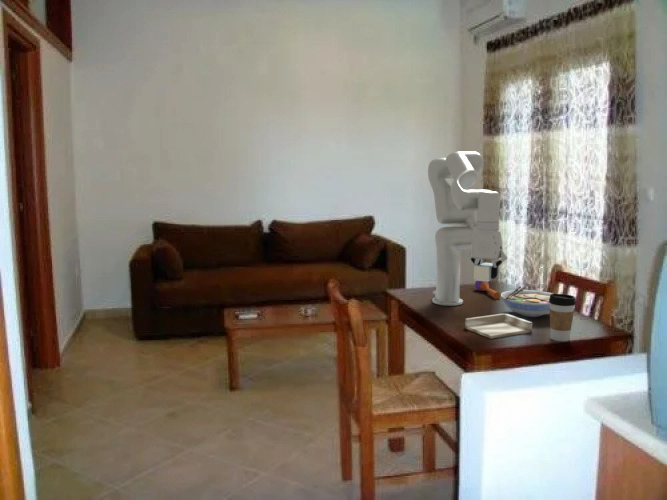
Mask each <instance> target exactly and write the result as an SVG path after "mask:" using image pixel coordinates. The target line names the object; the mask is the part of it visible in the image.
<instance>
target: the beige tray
mask: <svg viewBox="0 0 667 500" xmlns="http://www.w3.org/2000/svg"><path fill="white" fill-rule="evenodd" d="M464 329H466V330H468V331H470V332H473V333H475V334H478V335H480V336H483V337H486V338H488V339H492V340H493V339H498V338H503V337H511V336H517V335H523V334H528V333H532V332H533V322H532V321H530V320H527V319H524V318H520V317H518V316H515V315H513V314H509V313H505V312H504V313H497V314H490V315H489V314H488V315H483V316H474V317H467V318H465V319H464Z"/></svg>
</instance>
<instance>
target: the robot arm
mask: <svg viewBox="0 0 667 500" xmlns="http://www.w3.org/2000/svg"><path fill="white" fill-rule="evenodd" d="M483 169H484V158H483V156H482V155H481V154H480V153H479V152H477V151H453V152H451V153H449V154H448V155H447V156H446V157H438V158H434V159H432V160H430V162H429V164H428V167H427V177H428V180H429V183H430V186H431V188H432V192H433V195H434V196H433V199H434V205H435V206H434V207H435V214H436V220H437V222H438V223H439V224H441V225H461V226H443V227H440V228H438V229H437V231H436V232H435V237H434V238H435V240H434V241H435V247H436V285H435V286H436V287H435V288H436V289H435V290H433V291H432V294H433V295H435V296H434V297H433V298H432V300H431V302H432V304H436V305H438V306H445V307H446V306H448V307H451V306H452V307H454V306H460V305H463V303H464V300H463V299H462V298H460V290H461V289H460V288H461V287H460V286H461V285H460V284H461V259H460V257H459V255H457V253H456V251H461V250H466V251H467V250H468V251H469V250H470V251H469V252H468V253H467V254H466V257H467V258H468V259H469V260H470V261H471V262H472V264H473V266H476V265H479V264H482V260H491V263H492V264H493V268H492V270H491V278H492V279H493V280H496V279H497V278H496V276H497V275H498V276H499V267H500V265H502V264H503V263H504V262H506V261H507V260H508V256H507V255H506V254H505V252H504V251H503V239H502V232H501V230H500V203H501V202H500V201H501V200H500V199H501V196H500V193H499V191H493V190H491V189H469V188H471V187H473V186H474V185H475V183H476V182H477V180H478V175H479V173H481V172H482V170H483ZM446 179H453V181H452V184H451V183H449V182H448V181H447V180H446ZM495 278H496V279H495Z"/></svg>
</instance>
